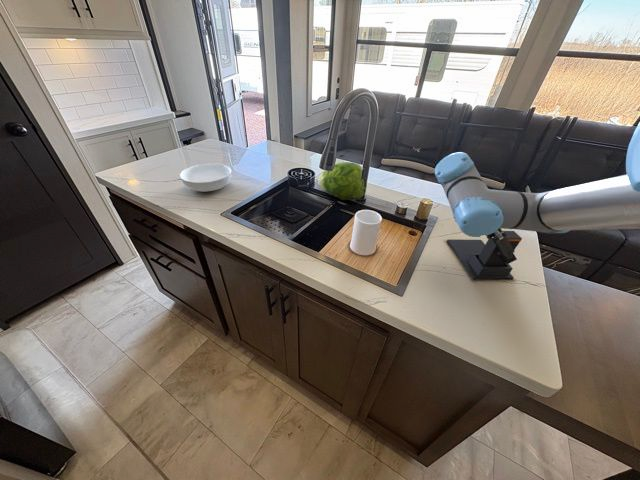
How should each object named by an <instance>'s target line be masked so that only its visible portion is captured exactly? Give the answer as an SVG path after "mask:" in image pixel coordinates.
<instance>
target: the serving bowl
mask: <svg viewBox="0 0 640 480" xmlns="http://www.w3.org/2000/svg"><path fill="white" fill-rule="evenodd" d="M232 171H233V170H232V168H231V167H230V166H229V165H226V164H222V163H216V162H214V163H213V162H212V163H201V164H196V165H192V166H189V167H187V168H185V169H183V170H182V171H181V172H180V174H179V178H180V180H181V182H182V184H183V185H185V186H186V187H187V188H188V189H190V190H193V191H196V192H212V191H213V192H214V191H218V190H220V189H223V188H224V187H226V186H227V185H228V184H229V183H230V181H231V179H232V175H233V174H232V173H233V172H232Z"/></svg>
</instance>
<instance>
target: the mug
mask: <svg viewBox="0 0 640 480" xmlns="http://www.w3.org/2000/svg"><path fill="white" fill-rule="evenodd" d="M382 222H383V217H382V216H381V214H380V213H378V212H377V211H375V210H370V209H361V210H358V211H356V212H355V215H354V220H353V227H352V233H351V235H352V236H351V239H350V240H351V241H350V243H349V248H350V250H351V251H352V252H353V253H354V254H356V255H358V256H370V255H373V254H374V253H375V252H376V251H377V243H378V237H379V233H380V229H381V225H382Z"/></svg>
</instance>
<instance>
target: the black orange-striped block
mask: <svg viewBox="0 0 640 480" xmlns="http://www.w3.org/2000/svg"><path fill="white" fill-rule="evenodd" d="M502 232H505V233H506V235H507V238H508V240H509V242H510V244H511V246H512V248H513V249H514V251H515V250H516V249H517V247H518V246H519V244H520V243H521V241H522V239H523V238H522V237H521V236H520V235H519V234H518V233H517V232H516V231H515V230H502ZM484 244H485V246H484V248H483V250H482V251H481V253H480V255H479V257H478V258H477V259H478V260H479V261H480V263H481V264H482V265H483V267H503V266H504V265H505V263H506V262H505V261H504V259H503V258H502V256H501V254H500V255H499V254H498V253H497V252H498V250H499V249H498V248H497V246H496V245H495V243H494V242H493V240H492V239H491V238H489V239H487V241H486V243H484Z"/></svg>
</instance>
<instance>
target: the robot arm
mask: <svg viewBox="0 0 640 480" xmlns="http://www.w3.org/2000/svg"><path fill="white" fill-rule="evenodd" d="M626 151H627V152H626V158H625V171H626V174H622V175H618V176H613V177H609V178H604V179H600V180H595V181H590V182H586V183H581V184H576V185H571V186H567V187H563V188H557V189H554V190H549V191H544V192H526V191H525V192H524V191H513V190H500V189H490V188H488V186H487V184H486V182H485V181H484V180H483V178H482V176H481V174H480V173H479V171H478V169H477V167H476V166H475V162H474V161H473V160H472V159H471V156H469V155H468V153H465V152H462V151H457V152H453V153H450V154H448V155H447V156H445V157H444V158H442V159H441V160H440V161H438V163H437V164H436V166H435V168H434V175H435V178H436V179H437V182H438V184H440V185H441V187H442V189H443V190H444V194H445V196H446V199H447V201H448V204H449V206H450V209H451V212H452V216H453V219H454V222H456V224H457V226H458V228H459V230H460V231H461V233H462V234H464V235H465V236H467V237H472V238H480V237H481V236H486V239H487V240H488V239H489V238H491V239H492V240H493V242H494V243H495V245H496V246H497V248H498V249H499V250H498V252H497V253H498V254H499V255H500V254H501V256H502V258H503V259H504V261H505V262H506V263H507V264H509V265H510V264H511V263H514V262H515V261H517V260H518V259H517V256H516V255H515V254H514V253H515V252H516V251H515V250H514V249H513V248H512V246H511V244H510V242H509V240H508V238H507V235H506V233H505V232H502V231H503V229H505V230H518V231H519V230H520V231H528V232H537V233H542V234H565V233H568V232H570V231H594V230H595V231H596V230H597V231H598V230H599V231H600V230H635V229H638V230H639V229H640V121H639V122H638V124H637V125H636V128H635V130H634V131H633V134H632V136H631V139H630V141H629V143H628V147H627V150H626Z"/></svg>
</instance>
